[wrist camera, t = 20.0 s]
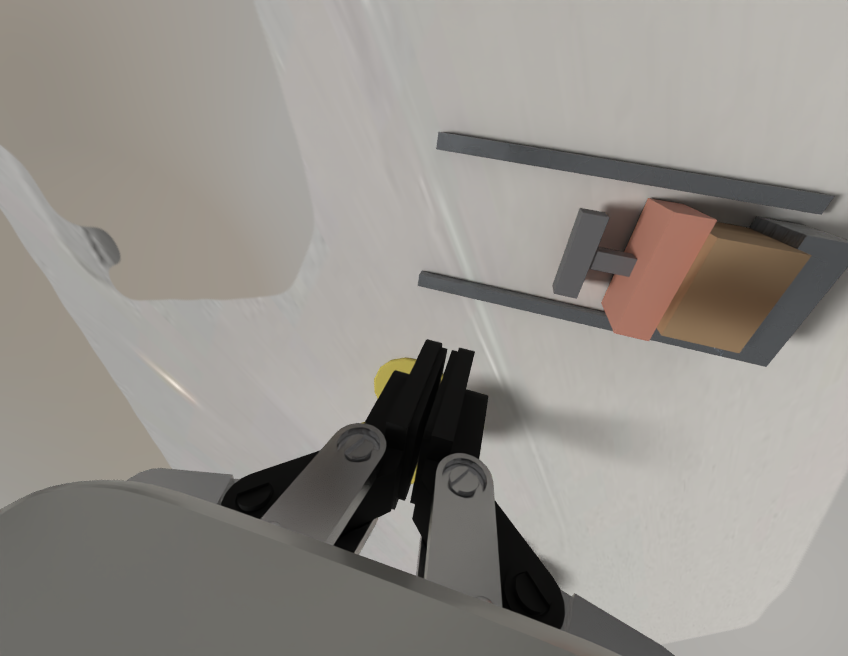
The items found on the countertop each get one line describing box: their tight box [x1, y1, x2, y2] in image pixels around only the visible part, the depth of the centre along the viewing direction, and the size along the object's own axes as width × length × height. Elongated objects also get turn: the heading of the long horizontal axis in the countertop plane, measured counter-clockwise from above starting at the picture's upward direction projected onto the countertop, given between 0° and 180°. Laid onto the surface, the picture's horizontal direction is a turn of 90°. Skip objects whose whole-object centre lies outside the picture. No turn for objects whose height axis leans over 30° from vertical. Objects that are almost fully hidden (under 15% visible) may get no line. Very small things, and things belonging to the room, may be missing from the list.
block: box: [657, 222, 812, 353], centre depth 25 cm, size 7×5×7 cm
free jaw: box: [553, 198, 717, 341], centre depth 27 cm, size 9×7×6 cm
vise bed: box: [418, 132, 848, 367], centre depth 27 cm, size 13×27×6 cm, turn 82°
